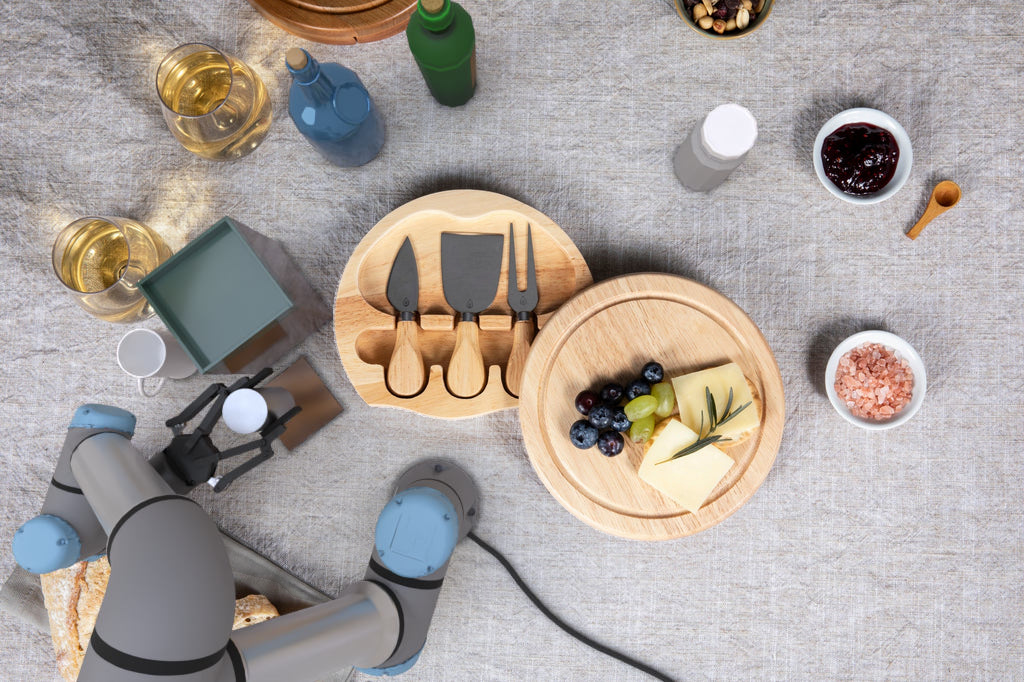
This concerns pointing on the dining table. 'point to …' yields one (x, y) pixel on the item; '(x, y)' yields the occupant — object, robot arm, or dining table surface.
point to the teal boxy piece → (233, 300)
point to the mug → (153, 357)
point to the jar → (716, 147)
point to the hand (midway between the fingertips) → (283, 389)
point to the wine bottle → (333, 110)
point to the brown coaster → (305, 402)
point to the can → (256, 408)
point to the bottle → (444, 50)
